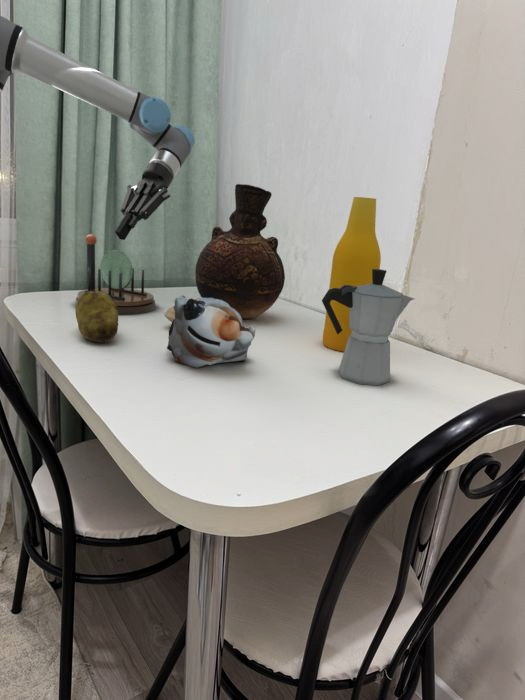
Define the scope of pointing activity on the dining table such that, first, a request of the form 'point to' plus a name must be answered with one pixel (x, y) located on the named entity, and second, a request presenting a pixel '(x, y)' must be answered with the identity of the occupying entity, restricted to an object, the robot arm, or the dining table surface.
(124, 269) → the dish rack
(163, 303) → the dining table surface
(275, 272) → the ceramic vessel
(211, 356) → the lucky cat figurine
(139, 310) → the base
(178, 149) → the robot arm
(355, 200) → the beer bottle
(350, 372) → the coffee maker
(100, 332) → the potato
